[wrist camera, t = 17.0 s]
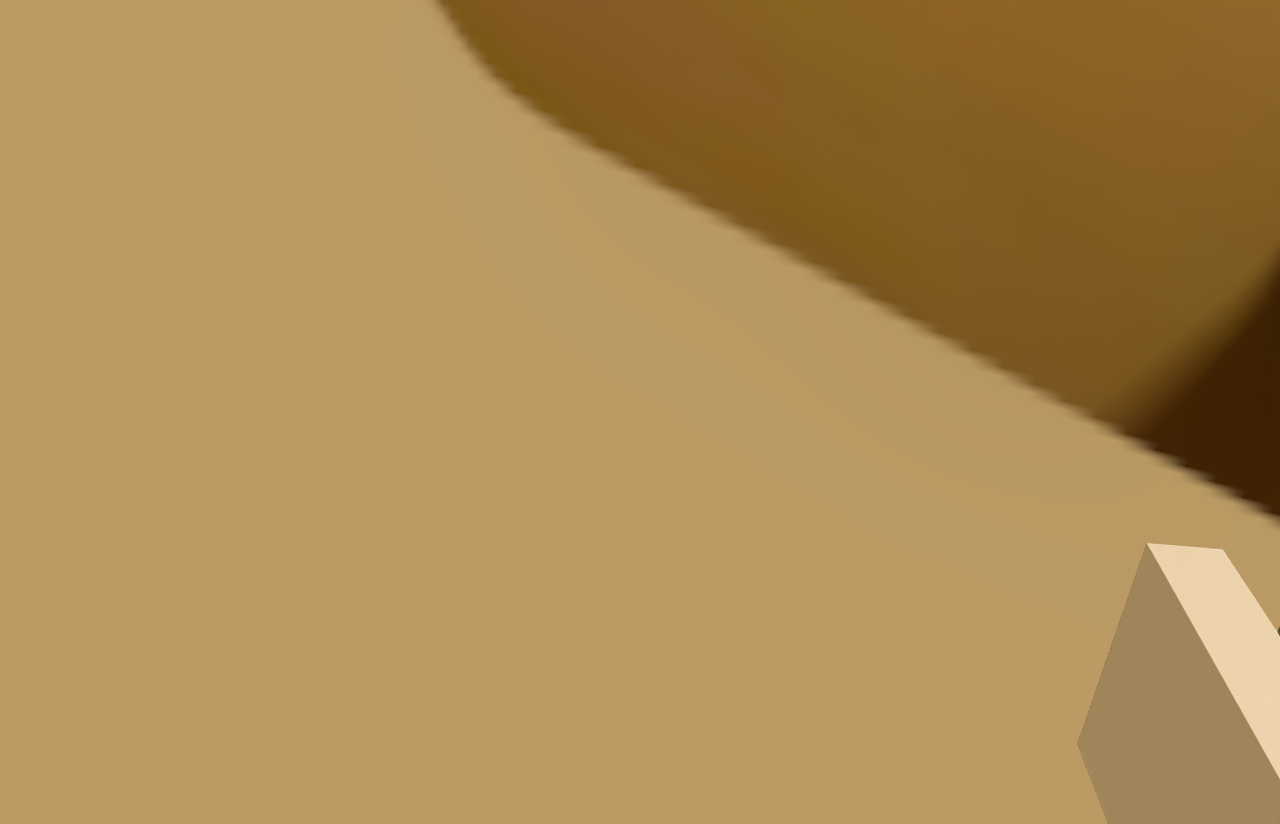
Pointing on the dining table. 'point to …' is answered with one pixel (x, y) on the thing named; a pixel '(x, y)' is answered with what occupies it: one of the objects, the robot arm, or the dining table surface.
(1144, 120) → the dining table surface
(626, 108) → the dining table surface
